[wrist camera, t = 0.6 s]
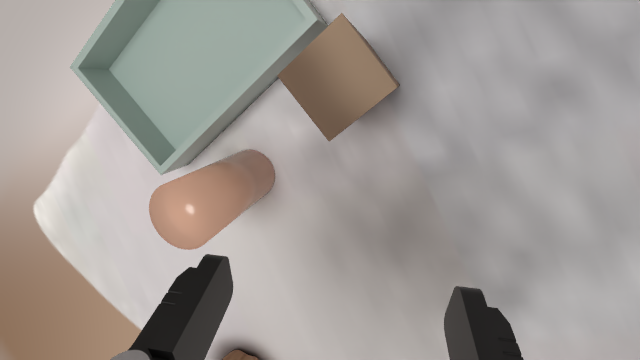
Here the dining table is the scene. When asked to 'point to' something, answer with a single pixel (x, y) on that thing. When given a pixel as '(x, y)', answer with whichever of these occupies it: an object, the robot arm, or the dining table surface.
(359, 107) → the walnut block
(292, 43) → the tray
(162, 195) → the terracotta cylinder
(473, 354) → the robot arm
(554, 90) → the dining table surface
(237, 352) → the cupcake
